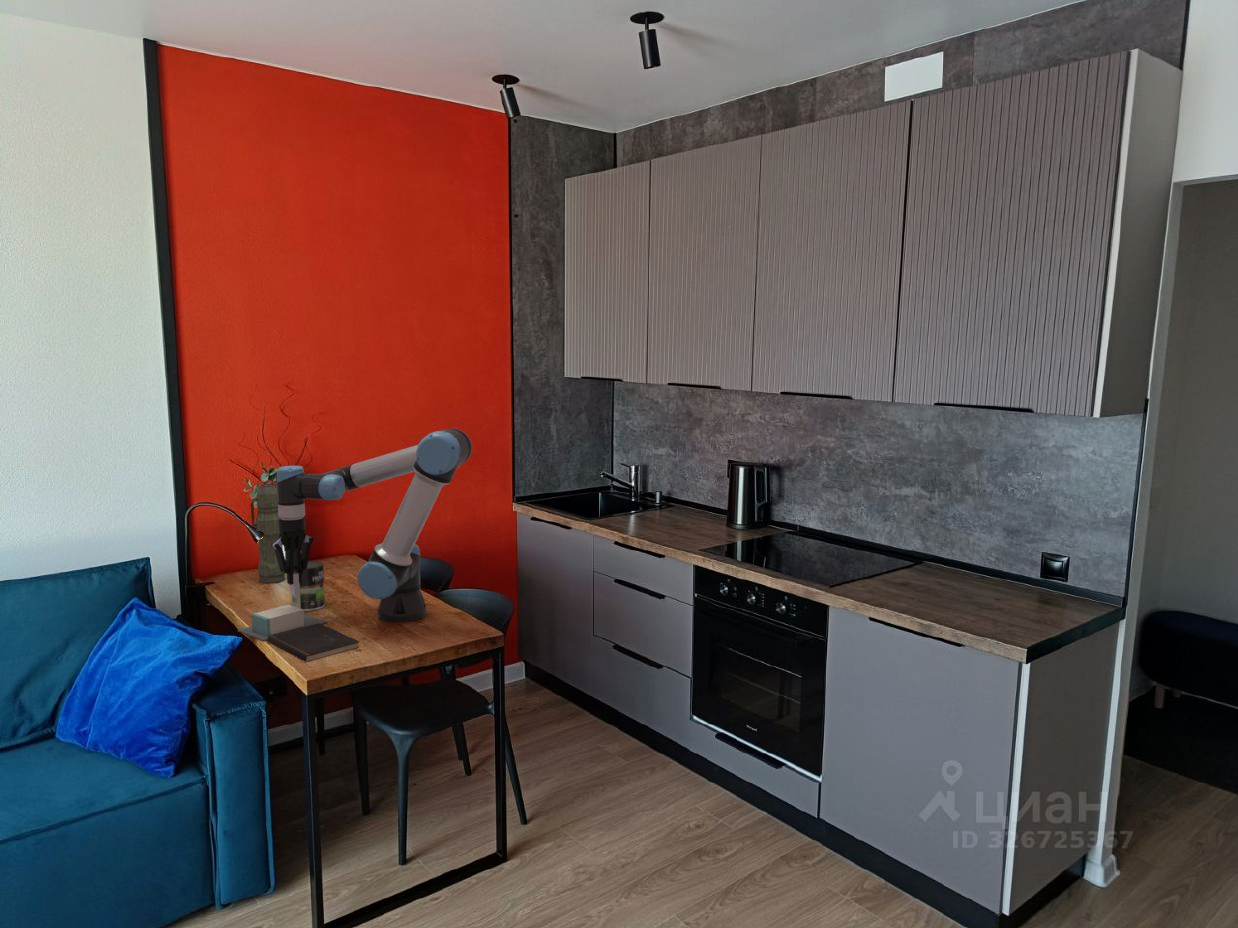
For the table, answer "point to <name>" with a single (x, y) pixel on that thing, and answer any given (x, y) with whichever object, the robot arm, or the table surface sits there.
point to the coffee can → (311, 588)
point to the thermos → (267, 533)
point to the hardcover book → (313, 641)
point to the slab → (277, 620)
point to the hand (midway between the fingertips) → (294, 593)
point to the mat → (307, 622)
